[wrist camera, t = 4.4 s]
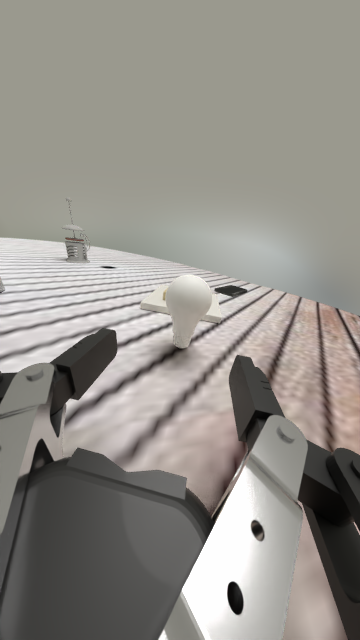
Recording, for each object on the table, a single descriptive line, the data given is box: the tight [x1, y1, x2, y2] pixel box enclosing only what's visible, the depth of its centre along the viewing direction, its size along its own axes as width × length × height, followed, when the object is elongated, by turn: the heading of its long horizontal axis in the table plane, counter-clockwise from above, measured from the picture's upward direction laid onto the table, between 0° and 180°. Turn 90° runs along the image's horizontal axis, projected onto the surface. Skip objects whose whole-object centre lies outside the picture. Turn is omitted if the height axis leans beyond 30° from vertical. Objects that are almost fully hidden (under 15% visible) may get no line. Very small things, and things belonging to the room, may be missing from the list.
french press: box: [62, 197, 90, 263], centre depth 68 cm, size 10×12×25 cm
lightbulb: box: [165, 275, 212, 348], centre depth 21 cm, size 6×6×11 cm
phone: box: [214, 285, 247, 297], centre depth 61 cm, size 8×1×15 cm
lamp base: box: [141, 285, 222, 324], centre depth 41 cm, size 18×18×4 cm
